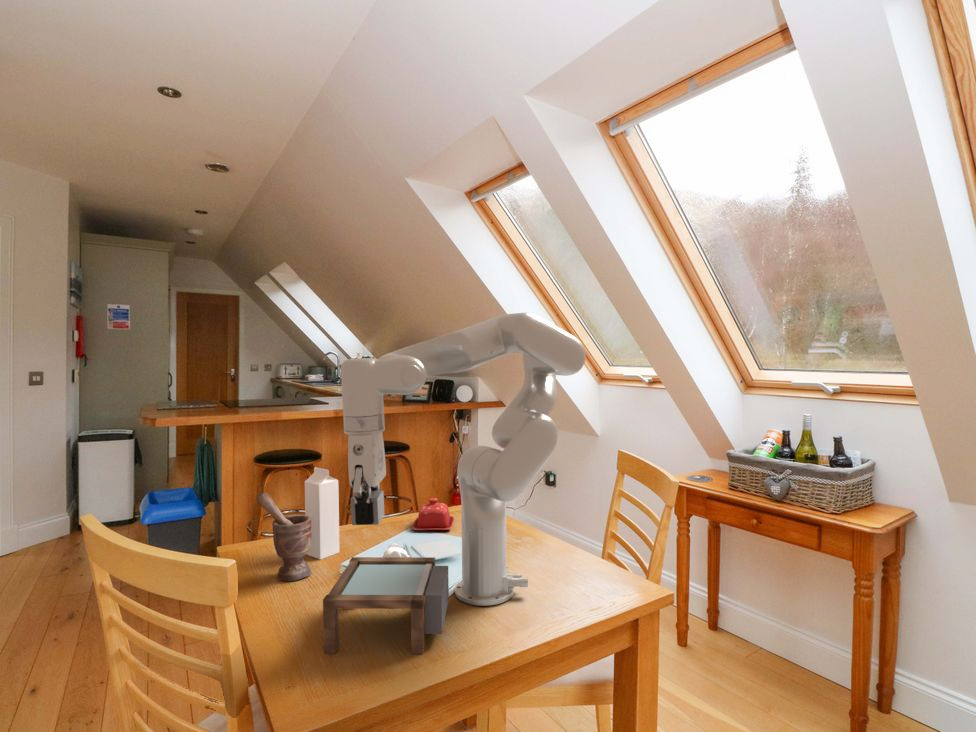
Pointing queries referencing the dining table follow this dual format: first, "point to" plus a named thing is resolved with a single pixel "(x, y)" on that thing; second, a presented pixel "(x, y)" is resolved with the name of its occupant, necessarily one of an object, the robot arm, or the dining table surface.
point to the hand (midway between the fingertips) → (368, 517)
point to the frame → (373, 602)
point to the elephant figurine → (395, 551)
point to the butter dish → (433, 517)
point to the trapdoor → (406, 587)
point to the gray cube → (378, 507)
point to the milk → (322, 513)
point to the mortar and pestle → (289, 539)
